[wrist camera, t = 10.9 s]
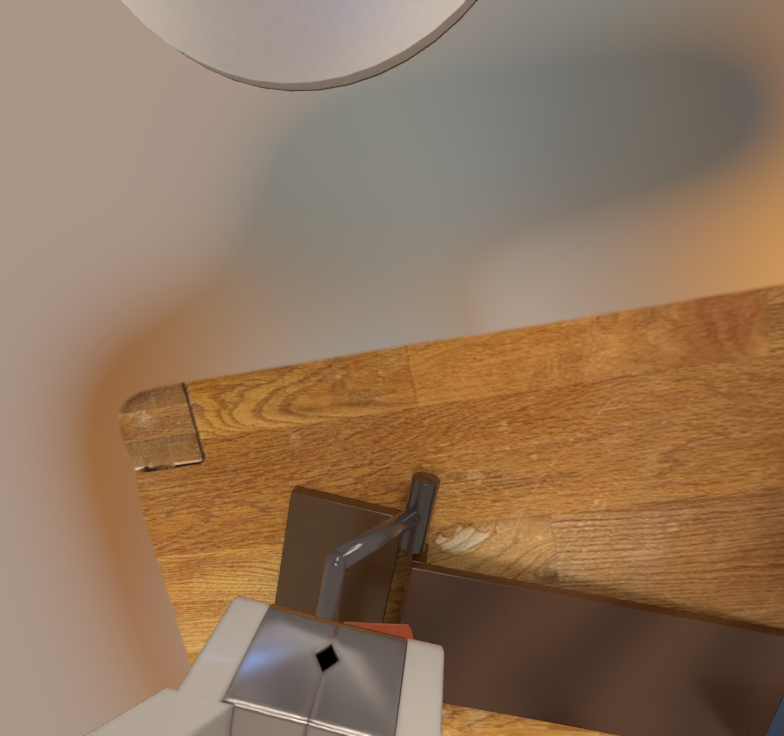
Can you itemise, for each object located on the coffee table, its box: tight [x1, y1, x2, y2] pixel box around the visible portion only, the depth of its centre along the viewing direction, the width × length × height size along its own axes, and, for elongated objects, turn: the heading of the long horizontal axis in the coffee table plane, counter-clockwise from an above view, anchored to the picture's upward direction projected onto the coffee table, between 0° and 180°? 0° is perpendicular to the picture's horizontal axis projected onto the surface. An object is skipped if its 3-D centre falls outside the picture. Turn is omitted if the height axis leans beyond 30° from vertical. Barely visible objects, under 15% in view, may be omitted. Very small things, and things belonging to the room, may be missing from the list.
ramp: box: [397, 543, 784, 736], centre depth 35 cm, size 26×10×3 cm, turn 80°
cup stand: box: [275, 486, 402, 623], centre depth 34 cm, size 8×14×10 cm, turn 170°
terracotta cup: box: [316, 472, 440, 640], centre depth 31 cm, size 11×16×7 cm
